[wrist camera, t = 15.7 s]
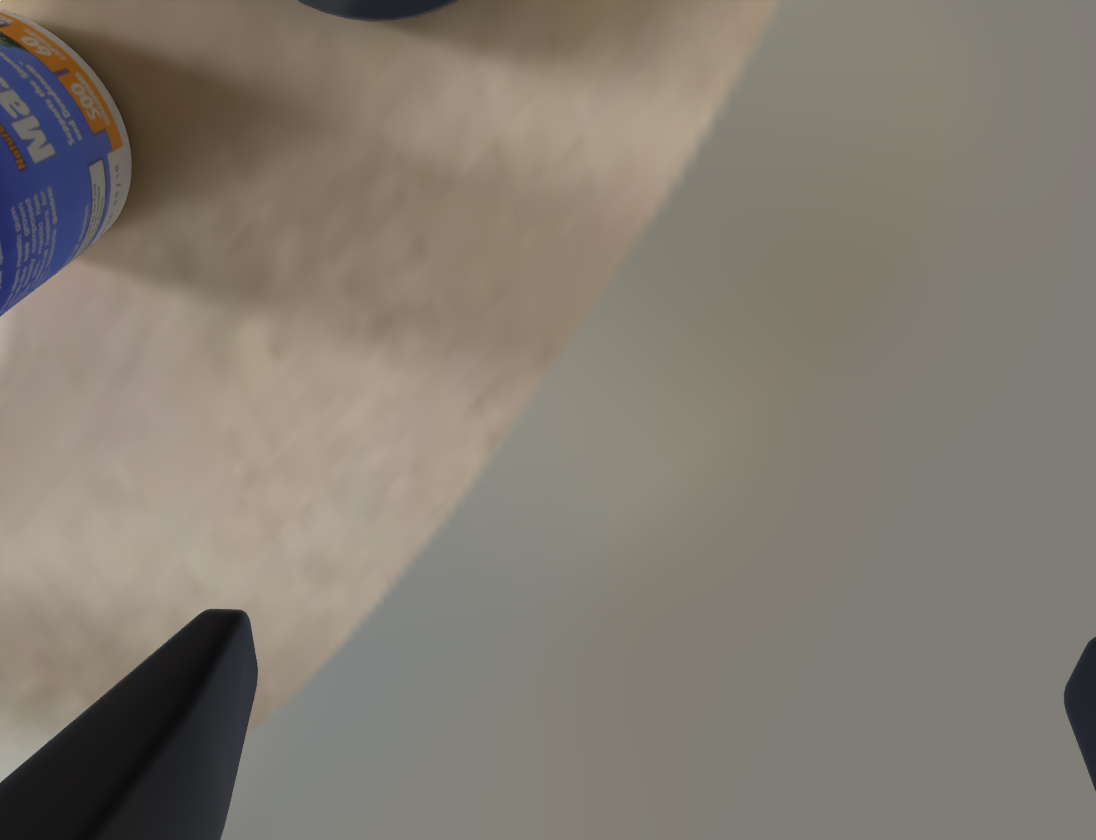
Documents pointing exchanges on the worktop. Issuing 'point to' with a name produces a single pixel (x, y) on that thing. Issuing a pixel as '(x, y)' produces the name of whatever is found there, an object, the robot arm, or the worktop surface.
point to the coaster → (378, 8)
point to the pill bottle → (53, 157)
